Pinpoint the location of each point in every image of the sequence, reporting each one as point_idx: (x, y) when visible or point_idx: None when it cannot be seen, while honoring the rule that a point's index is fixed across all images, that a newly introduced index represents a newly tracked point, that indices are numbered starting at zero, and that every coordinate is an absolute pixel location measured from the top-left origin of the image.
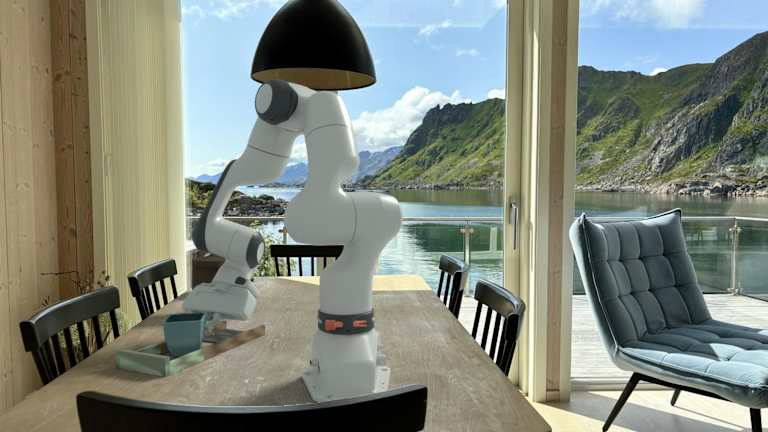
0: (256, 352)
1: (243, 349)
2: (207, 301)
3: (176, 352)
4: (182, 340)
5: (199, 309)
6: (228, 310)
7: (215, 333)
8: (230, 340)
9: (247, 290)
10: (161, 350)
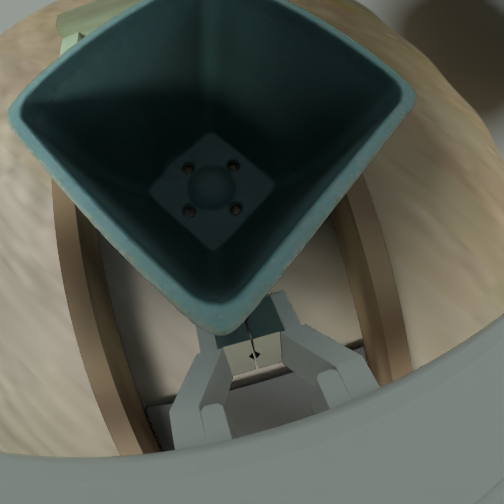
0: (10, 380)
1: (67, 387)
2: (427, 478)
3: (190, 120)
4: (144, 97)
5: (418, 369)
6: (52, 475)
7: None
8: (89, 370)
9: None
10: None
